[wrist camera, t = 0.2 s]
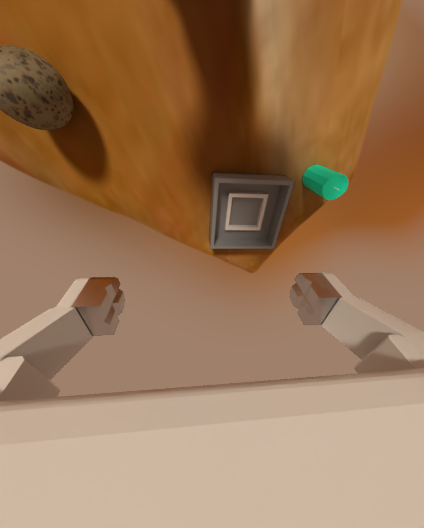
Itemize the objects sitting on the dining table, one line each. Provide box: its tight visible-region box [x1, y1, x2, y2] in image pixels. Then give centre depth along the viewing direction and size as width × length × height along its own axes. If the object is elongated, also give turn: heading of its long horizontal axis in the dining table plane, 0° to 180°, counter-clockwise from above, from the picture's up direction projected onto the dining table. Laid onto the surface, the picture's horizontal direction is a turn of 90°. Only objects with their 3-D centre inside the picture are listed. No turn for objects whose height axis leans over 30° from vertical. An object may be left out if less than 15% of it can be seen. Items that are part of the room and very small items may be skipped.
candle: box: [302, 165, 348, 200], centre depth 48 cm, size 6×6×12 cm
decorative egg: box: [0, 46, 73, 130], centre depth 33 cm, size 11×11×15 cm
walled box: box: [209, 172, 295, 249], centre depth 55 cm, size 20×20×6 cm
